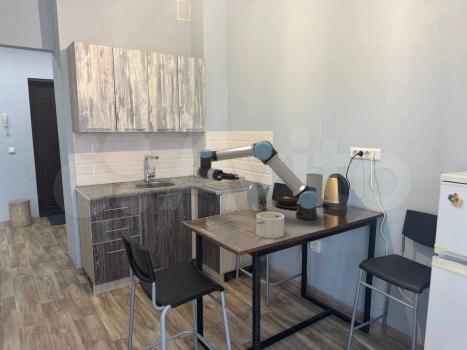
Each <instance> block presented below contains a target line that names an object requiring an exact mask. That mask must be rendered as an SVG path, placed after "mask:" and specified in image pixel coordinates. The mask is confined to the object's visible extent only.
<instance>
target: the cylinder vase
mask: <svg viewBox="0 0 467 350" xmlns="http://www.w3.org/2000/svg"><path fill="white" fill-rule="evenodd" d="M305 175H306V176H305V179H306V180H305V184H307V185H315V186H316V188H317V190H316V194H317V197H318V202H317V204H316V207H317V208H319V207H318V206H321V207H322V202H323V201H322V199H323V198H322V197H323V181H324V180H323V179H324V178H323V177H324V176H323V174H321V173H307V174H305Z"/></svg>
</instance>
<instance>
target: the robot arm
mask: <svg viewBox="0 0 467 350" xmlns="http://www.w3.org/2000/svg"><path fill="white" fill-rule="evenodd" d="M199 152H200V154H199V157H200V158H199V162H200V163H199V164H200V165H199V167H198V168H196V169H197V170H196V176H197V177H198V178H200V179H207V180H211V181H213V182H214V181H216V182H221V181H222V180H228V181H232V182H235V181H239V182H245V180H246V179H245V178H246V177H245V176H242V175H239V174H235V173H232V172H229V173H228V172H224V171H223V170H222V169H220V168H219V169H218V168H212V163H213V162H220V161H228V160H233V159H234V160H236V159H241V158H242V159H243V158H249V157H250V158H251V157H254V158H256V159H257V160H259V161H260V162H261V163H263V165H264V166H269V168H270V169H271V170H272V171H273V173H275V174H276V176H278V178H279V179H280V180H281V181H282V182H283V184H285V186H287V187H288V189H289V190H291V192H292V195H293V196H294V197H295V198H296V199H297V201H298V202H297V204H298V208H297V209H296V212H295V218H296V219H298V220H302V221H316V220H318V218H319V214H318V211H317V208H316V204H317V202H318V197H317V194H316V190H317V188H316V186H315V185H307V184H306V183H304V182H302V181H301V179H300V178H299V177H298V176H297V175H296V173H294V172H293V171H292V170H291V168H290V167H288V165H287V164H286V163H285V161H283V160H282V159H281V158H280V156H279V152H278V151H277V150H276V149H275V148H274V146H273V144H272V143H271V142H270V141H269V140H261V141H258V142H256V143H255V142H253V143H252V144H251V145H245V146H238V147H232V148H224V149H218V150H211V149H201V150H200V151H199Z"/></svg>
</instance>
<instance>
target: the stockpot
mask: <svg viewBox="0 0 467 350" xmlns="http://www.w3.org/2000/svg"><path fill="white" fill-rule="evenodd" d="M254 219H255V220H256V221H255V235H257V236H258V237H260V238H265V239H278V238H279V239H280V238H281V237H283V236H285V235H284V234H285V214H282V212H281V213H279V212H275V211H262V212H259V213H256V214H255V213H254Z"/></svg>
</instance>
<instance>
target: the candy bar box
mask: <svg viewBox="0 0 467 350" xmlns="http://www.w3.org/2000/svg"><path fill="white" fill-rule="evenodd" d="M263 188H264V191H265V194H266V202H265V206H264V208H263V209H262V210H263V211H262V212H265V211H267V202H268V200H267V198H268V197H267V192H268V189H267V188H265V187H263Z"/></svg>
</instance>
